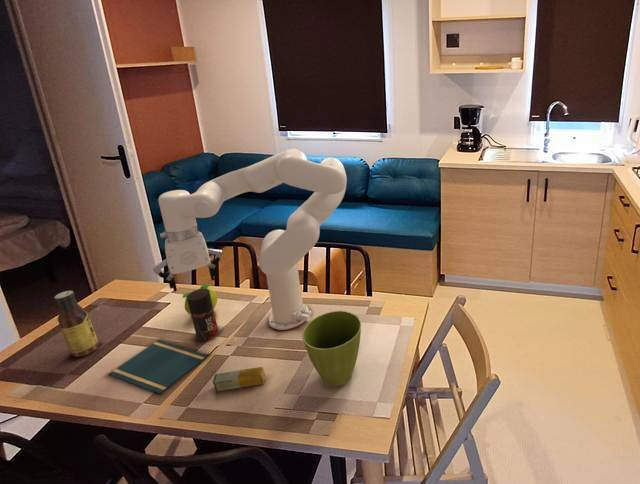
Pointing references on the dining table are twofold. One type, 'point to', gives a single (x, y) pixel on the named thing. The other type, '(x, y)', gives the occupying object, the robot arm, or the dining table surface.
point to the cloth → (158, 366)
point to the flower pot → (333, 345)
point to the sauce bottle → (75, 325)
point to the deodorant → (202, 314)
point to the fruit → (212, 294)
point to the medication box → (239, 379)
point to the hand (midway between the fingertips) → (194, 283)
